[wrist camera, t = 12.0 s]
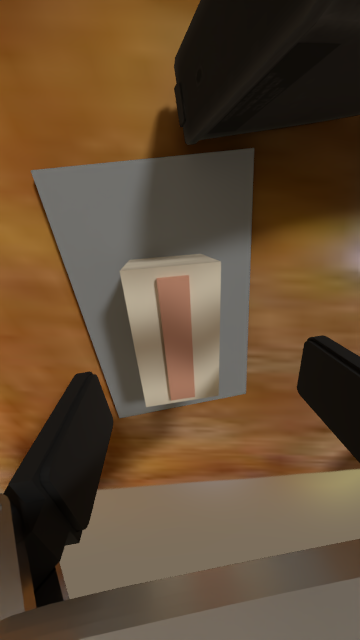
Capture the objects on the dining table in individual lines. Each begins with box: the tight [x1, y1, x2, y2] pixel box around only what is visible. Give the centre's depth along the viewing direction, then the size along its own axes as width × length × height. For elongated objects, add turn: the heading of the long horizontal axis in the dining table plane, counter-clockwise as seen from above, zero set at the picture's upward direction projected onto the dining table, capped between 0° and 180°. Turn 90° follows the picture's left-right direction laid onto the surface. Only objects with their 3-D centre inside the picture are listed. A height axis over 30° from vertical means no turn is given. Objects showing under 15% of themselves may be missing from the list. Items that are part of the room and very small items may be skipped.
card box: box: [120, 254, 221, 407], centre depth 13 cm, size 9×5×5 cm, turn 4°
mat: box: [31, 148, 254, 418], centre depth 16 cm, size 13×20×1 cm, turn 7°
